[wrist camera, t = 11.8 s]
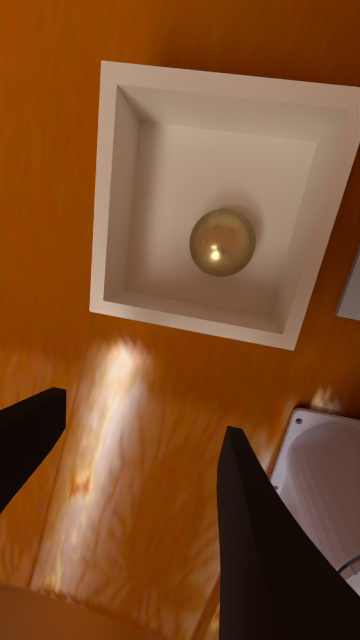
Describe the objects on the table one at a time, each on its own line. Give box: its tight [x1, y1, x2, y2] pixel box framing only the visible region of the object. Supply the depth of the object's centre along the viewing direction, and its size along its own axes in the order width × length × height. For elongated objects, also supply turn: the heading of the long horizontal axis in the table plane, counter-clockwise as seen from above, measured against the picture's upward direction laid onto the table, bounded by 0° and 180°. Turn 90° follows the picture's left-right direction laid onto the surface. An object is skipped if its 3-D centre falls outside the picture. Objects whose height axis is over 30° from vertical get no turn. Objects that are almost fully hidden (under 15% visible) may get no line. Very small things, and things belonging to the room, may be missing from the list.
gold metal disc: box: [189, 208, 256, 277], centre depth 16 cm, size 4×4×1 cm
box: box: [90, 61, 360, 351], centre depth 15 cm, size 12×12×4 cm
